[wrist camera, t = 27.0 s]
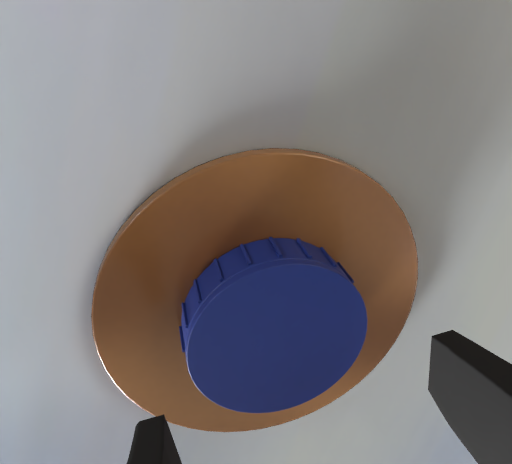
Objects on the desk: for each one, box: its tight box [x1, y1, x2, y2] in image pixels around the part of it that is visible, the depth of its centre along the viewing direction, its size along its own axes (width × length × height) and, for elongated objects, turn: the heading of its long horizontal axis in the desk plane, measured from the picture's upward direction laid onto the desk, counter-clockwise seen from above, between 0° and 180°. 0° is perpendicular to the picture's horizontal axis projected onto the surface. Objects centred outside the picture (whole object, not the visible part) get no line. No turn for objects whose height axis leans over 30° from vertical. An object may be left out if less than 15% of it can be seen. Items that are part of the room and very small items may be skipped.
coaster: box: [91, 148, 418, 432], centre depth 15 cm, size 11×11×1 cm
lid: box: [179, 237, 368, 413], centre depth 14 cm, size 6×6×2 cm
